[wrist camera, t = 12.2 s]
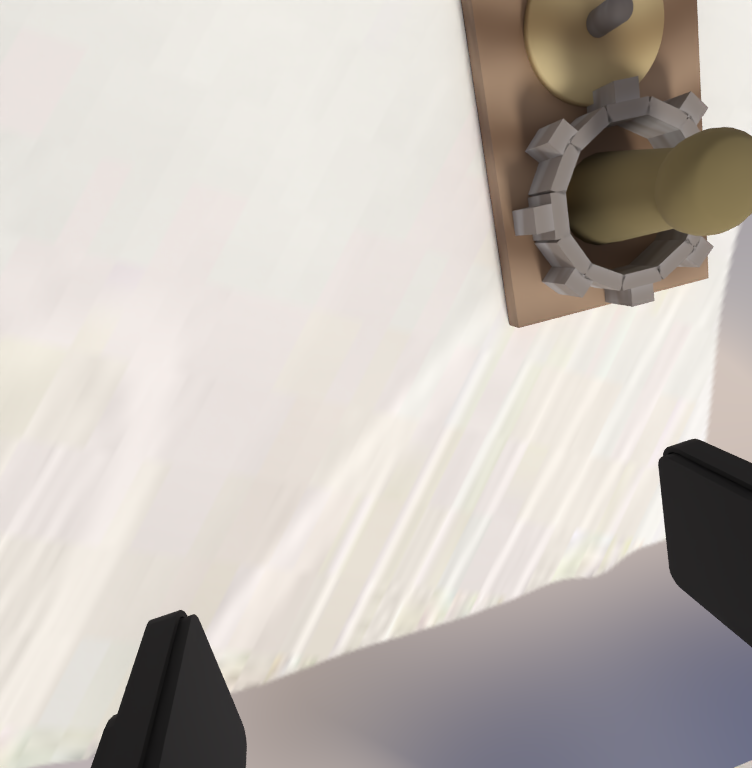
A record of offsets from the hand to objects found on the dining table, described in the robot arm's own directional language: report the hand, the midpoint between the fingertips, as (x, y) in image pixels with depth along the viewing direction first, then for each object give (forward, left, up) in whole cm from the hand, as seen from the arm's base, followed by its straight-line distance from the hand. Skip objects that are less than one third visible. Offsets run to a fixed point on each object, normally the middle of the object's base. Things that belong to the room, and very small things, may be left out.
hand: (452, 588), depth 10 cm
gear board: (-9, +21, -28) cm, 36 cm away
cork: (-5, +21, -26) cm, 34 cm away
